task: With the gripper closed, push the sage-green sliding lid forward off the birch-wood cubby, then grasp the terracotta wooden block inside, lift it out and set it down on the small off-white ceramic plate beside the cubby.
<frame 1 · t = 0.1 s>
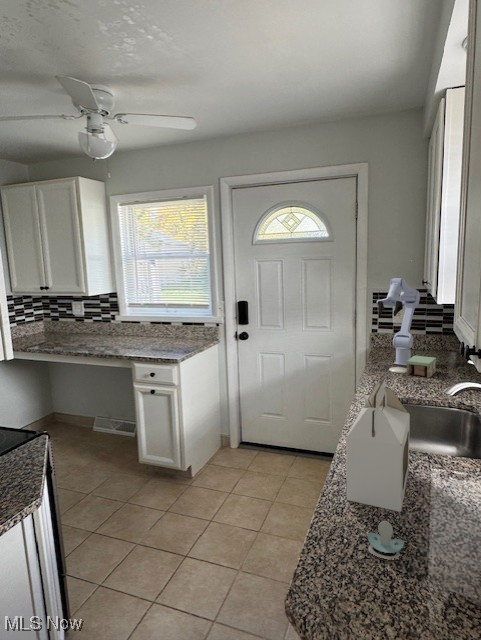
hand: (386, 314, 211), 32 cm above the counter, tool tilted 50°, fingers open, 7 cm apart
gable box: (379, 485, 112), on the counter
cubby: (421, 373, 215), on the counter
plate: (398, 370, 223), on the counter
supplement box: (377, 432, 146), on the counter
lid: (421, 360, 214), point 7 cm above the counter, slide at 0.0 cm
pacifier: (384, 552, 87), on the counter
block: (420, 374, 215), on the counter
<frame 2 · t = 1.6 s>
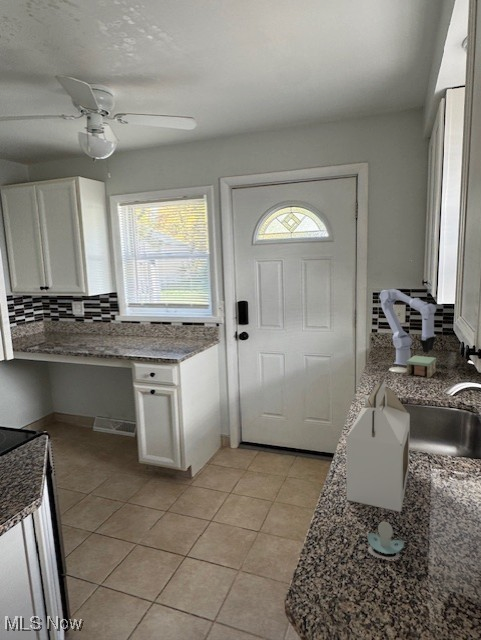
hand: (427, 351, 223), 10 cm above the counter, tool pointing down, fingers open, 7 cm apart
nothing on the counter moved.
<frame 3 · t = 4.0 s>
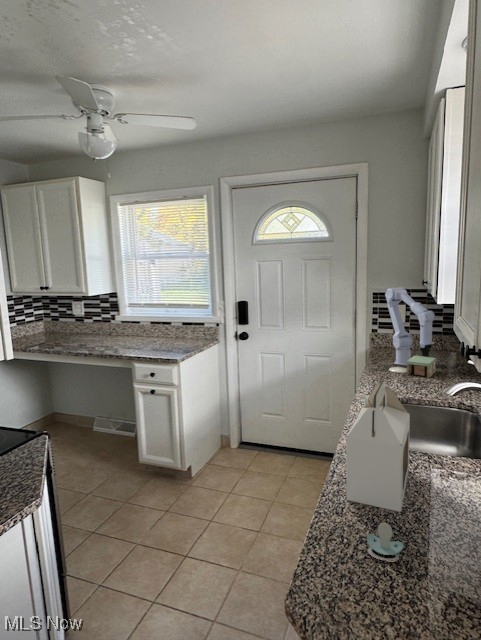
hand: (425, 358, 221), 6 cm above the counter, tool pointing down, fingers closed
lid: (421, 360, 214), point 7 cm above the counter, slide at 0.1 cm, touching gripper
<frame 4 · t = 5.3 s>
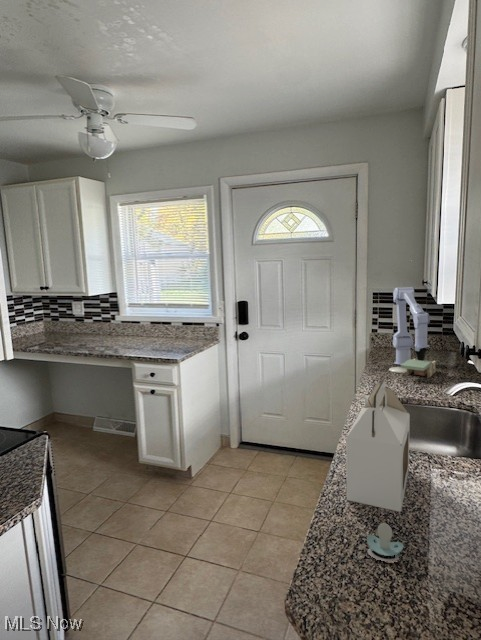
hand: (420, 362, 213), 6 cm above the counter, tool pointing down, fingers closed
lid: (416, 364, 207), point 7 cm above the counter, slide at 9.5 cm, touching gripper
everything else where it was.
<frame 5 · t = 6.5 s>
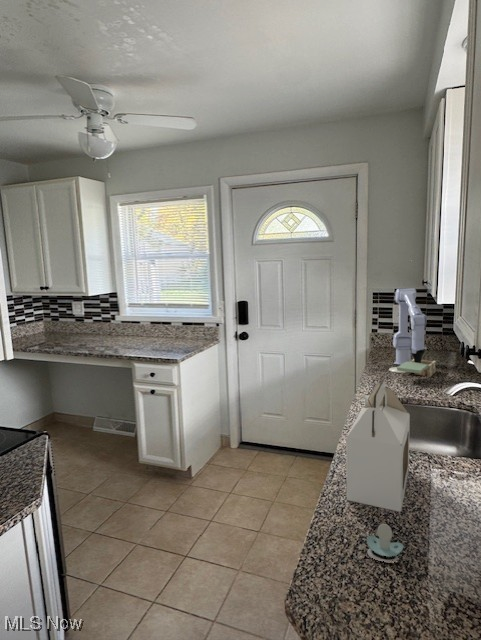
hand: (417, 364, 209), 6 cm above the counter, tool pointing down, fingers closed
lid: (412, 367, 203), point 7 cm above the counter, slide at 14.9 cm, touching gripper
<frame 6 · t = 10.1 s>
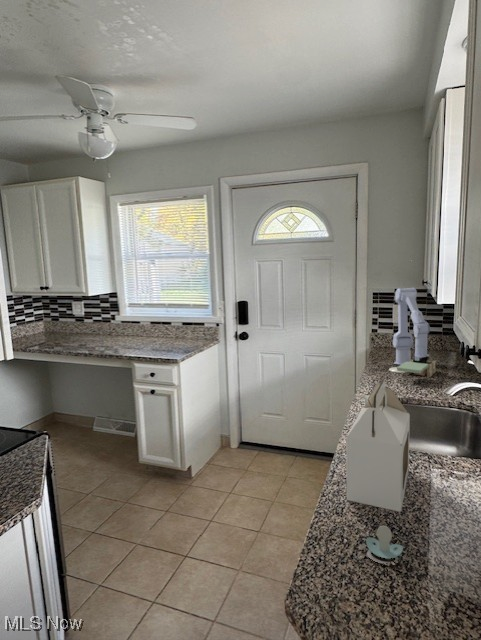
hand: (420, 371, 214), 1 cm above the counter, tool pointing down, fingers closed on block, 5 cm apart
lid: (412, 367, 203), point 7 cm above the counter, slide at 15.0 cm
block: (420, 373, 215), on the counter, touching gripper
when the fingers open (3 cm above the counter, at t = 14.0 s): block drops 1 cm, resting on plate.
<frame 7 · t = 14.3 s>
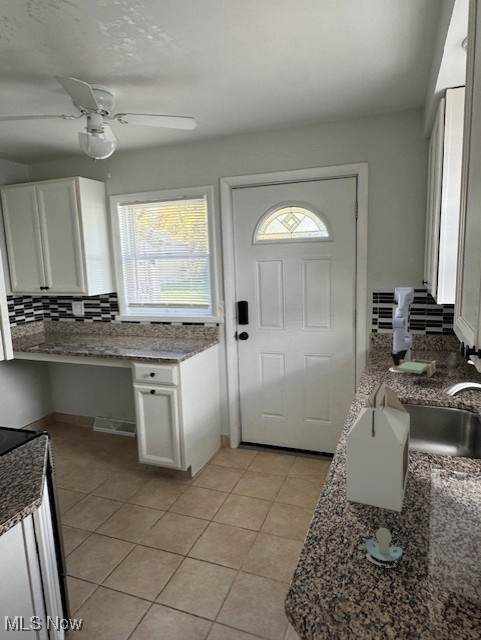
hand: (398, 364, 222), 4 cm above the counter, tool pointing down, fingers open, 7 cm apart
block: (399, 369, 222), point 1 cm above the counter, touching plate
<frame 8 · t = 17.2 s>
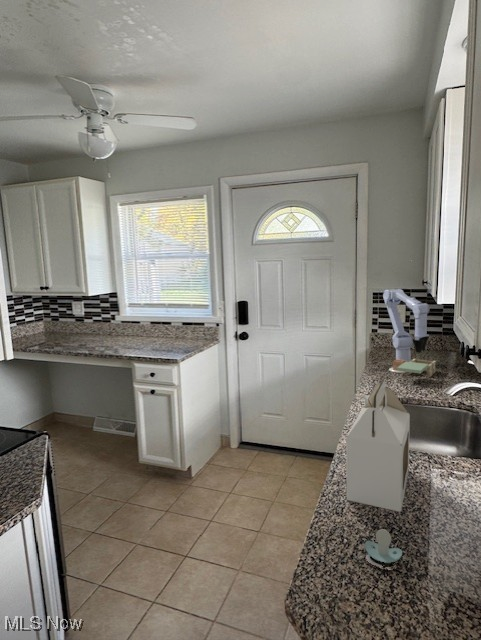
hand: (420, 351, 221), 10 cm above the counter, tool pointing down, fingers open, 7 cm apart
at the end: lid slide at 15.0 cm; block inside the target area on the plate (0.2 cm from its centre), point 0.6 cm above the plate's base; block tilted 0° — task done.
